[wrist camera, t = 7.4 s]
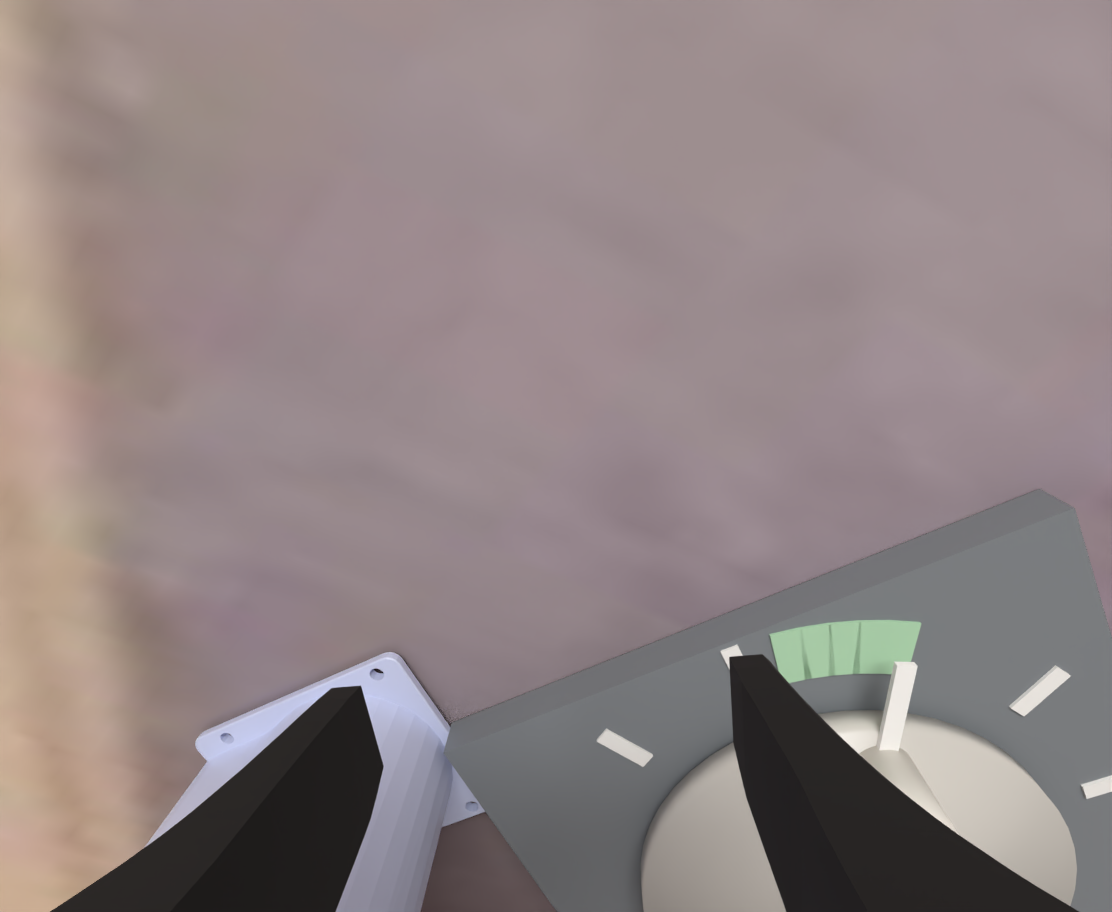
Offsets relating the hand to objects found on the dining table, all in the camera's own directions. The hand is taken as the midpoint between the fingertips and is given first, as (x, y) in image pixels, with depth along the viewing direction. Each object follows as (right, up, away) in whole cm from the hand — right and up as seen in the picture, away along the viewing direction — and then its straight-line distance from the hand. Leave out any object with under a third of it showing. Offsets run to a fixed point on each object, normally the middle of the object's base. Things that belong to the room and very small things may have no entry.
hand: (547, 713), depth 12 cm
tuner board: (+11, -10, +13) cm, 20 cm away
